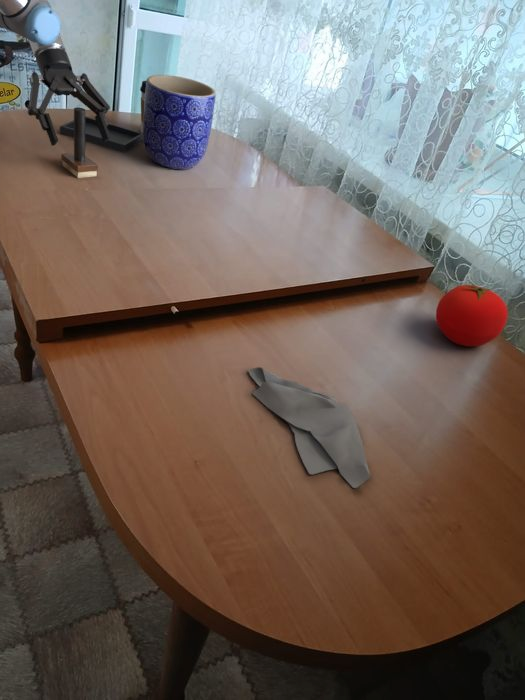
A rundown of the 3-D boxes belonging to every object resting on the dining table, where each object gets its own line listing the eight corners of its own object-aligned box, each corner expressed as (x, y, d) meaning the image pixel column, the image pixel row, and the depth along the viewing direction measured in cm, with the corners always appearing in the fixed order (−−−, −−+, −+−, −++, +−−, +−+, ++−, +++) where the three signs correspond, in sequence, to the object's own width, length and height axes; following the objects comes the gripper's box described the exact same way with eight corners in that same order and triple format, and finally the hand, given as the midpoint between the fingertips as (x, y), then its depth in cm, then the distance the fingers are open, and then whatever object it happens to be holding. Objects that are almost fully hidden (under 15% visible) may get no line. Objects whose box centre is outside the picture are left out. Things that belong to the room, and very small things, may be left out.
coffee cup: (132, 133, 167) (135, 81, 158) (144, 127, 174) (148, 76, 165) (157, 141, 166) (162, 89, 157) (168, 135, 173) (174, 84, 164)
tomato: (495, 364, 107) (524, 317, 100) (427, 345, 107) (451, 296, 100) (486, 330, 117) (512, 285, 110) (424, 312, 117) (446, 266, 110)
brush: (61, 165, 138) (60, 103, 129) (81, 163, 141) (81, 103, 132) (77, 178, 134) (77, 115, 125) (97, 176, 137) (99, 115, 128)
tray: (60, 133, 155) (59, 125, 153) (83, 122, 165) (83, 115, 164) (124, 152, 153) (124, 145, 152) (144, 140, 164) (144, 133, 163)
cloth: (399, 474, 78) (405, 463, 77) (321, 500, 72) (326, 489, 70) (307, 360, 95) (311, 350, 94) (238, 372, 89) (240, 362, 87)
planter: (195, 180, 148) (206, 101, 136) (130, 163, 148) (135, 82, 136) (212, 160, 163) (223, 87, 150) (153, 144, 163) (159, 70, 151)
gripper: (92, 65, 141) (120, 144, 143) (-6, 62, 126) (26, 151, 127) (103, 49, 136) (133, 131, 137) (1, 43, 120) (36, 137, 122)
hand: (81, 141), depth 132 cm, fingers open, 13 cm apart
